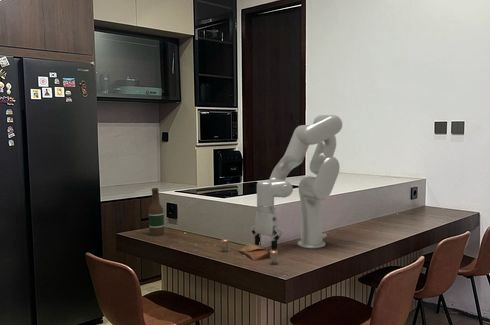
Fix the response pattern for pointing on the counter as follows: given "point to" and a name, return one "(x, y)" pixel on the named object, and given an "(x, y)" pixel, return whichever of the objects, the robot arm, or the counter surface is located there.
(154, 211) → the beer bottle
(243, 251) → the sunglasses case
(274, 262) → the line post
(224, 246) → the line post
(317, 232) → the robot arm
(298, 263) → the counter surface
